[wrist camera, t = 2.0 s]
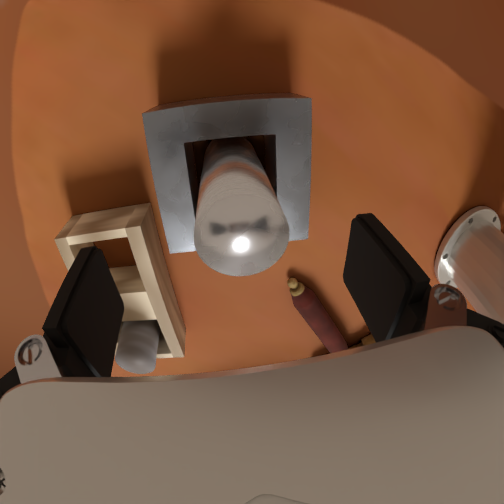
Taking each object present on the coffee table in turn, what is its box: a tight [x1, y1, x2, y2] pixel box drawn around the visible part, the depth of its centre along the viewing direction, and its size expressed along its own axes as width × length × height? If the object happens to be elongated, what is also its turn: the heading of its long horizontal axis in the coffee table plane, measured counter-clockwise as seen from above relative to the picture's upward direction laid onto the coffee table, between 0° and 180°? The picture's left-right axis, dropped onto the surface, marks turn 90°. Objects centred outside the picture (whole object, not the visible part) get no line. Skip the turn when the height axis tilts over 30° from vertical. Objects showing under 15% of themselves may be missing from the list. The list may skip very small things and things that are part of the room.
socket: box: [142, 93, 312, 254], centre depth 20 cm, size 10×10×5 cm
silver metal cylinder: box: [194, 136, 289, 276], centre depth 17 cm, size 4×4×12 cm
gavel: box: [288, 278, 376, 353], centre depth 34 cm, size 21×5×10 cm
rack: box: [54, 203, 186, 374], centre depth 25 cm, size 8×16×7 cm, turn 3°
